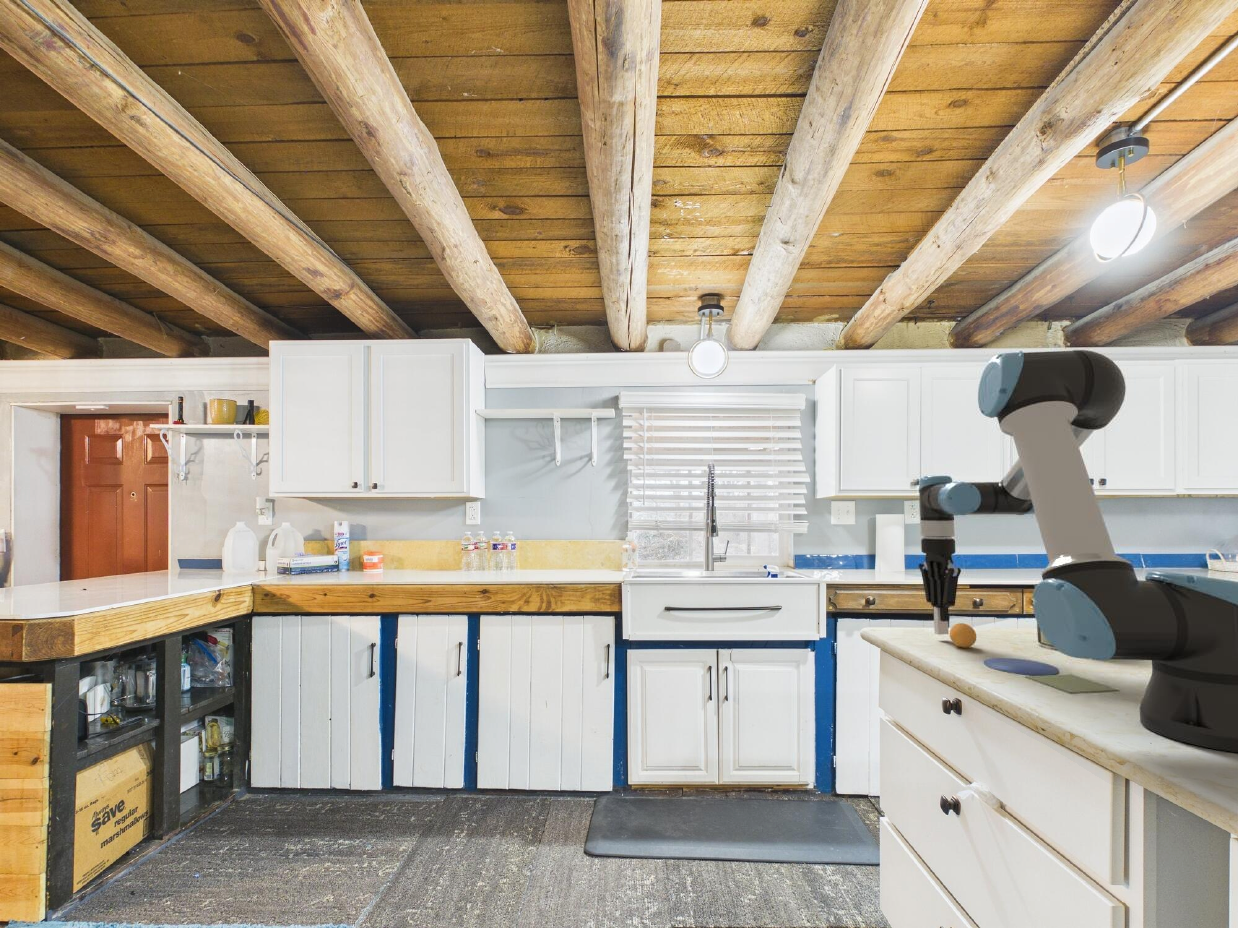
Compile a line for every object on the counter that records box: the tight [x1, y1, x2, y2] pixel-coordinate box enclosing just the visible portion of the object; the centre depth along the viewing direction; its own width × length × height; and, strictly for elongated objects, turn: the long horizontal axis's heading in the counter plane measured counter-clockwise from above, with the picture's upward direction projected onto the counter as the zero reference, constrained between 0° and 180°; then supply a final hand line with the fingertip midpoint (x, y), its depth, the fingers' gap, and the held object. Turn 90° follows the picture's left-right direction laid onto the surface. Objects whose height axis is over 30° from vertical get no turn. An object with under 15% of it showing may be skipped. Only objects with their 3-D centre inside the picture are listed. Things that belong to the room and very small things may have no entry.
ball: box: [949, 622, 977, 649], centre depth 143 cm, size 6×6×6 cm
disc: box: [983, 657, 1060, 676], centre depth 126 cm, size 13×13×1 cm
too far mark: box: [1024, 673, 1121, 694], centre depth 114 cm, size 10×10×1 cm
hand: (941, 633), depth 150 cm, fingers closed
